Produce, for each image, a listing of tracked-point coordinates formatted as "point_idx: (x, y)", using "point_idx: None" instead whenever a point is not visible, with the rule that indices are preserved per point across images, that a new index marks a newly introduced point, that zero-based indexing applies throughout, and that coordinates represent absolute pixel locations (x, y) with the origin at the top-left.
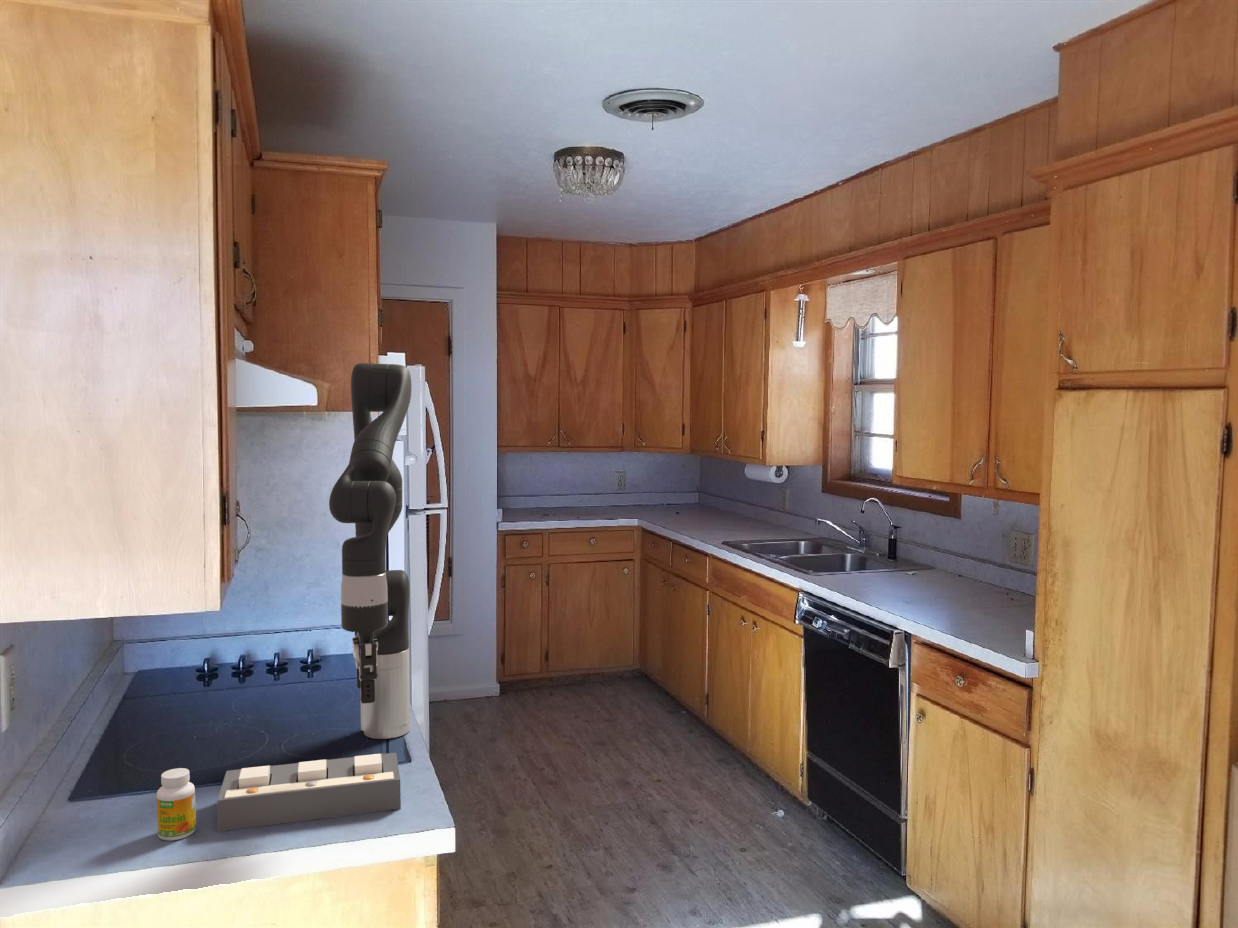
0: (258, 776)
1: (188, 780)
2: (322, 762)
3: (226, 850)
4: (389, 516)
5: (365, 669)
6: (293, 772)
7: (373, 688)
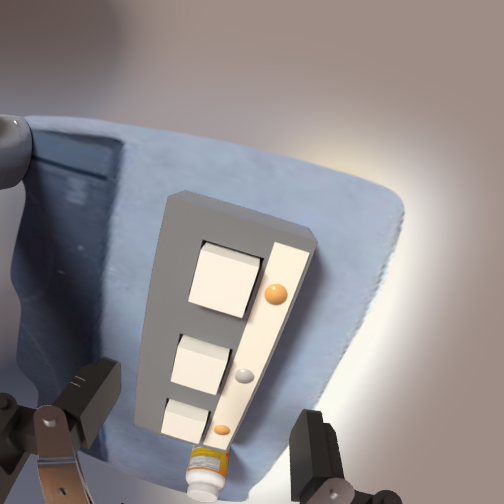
0: (202, 430)
1: (209, 485)
2: (190, 356)
3: (282, 427)
4: None
5: (88, 421)
6: None
7: (324, 451)
